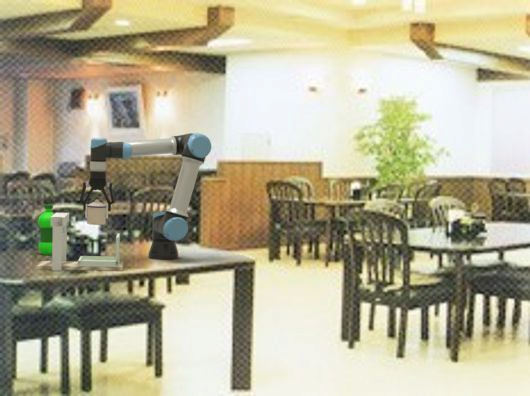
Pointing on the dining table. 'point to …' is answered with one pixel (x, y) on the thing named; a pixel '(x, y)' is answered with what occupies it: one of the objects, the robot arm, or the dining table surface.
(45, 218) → the plastic bottle
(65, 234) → the press frame
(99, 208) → the teacup with lid
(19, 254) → the dining table surface
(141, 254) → the dining table surface
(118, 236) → the press carriage
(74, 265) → the press track
